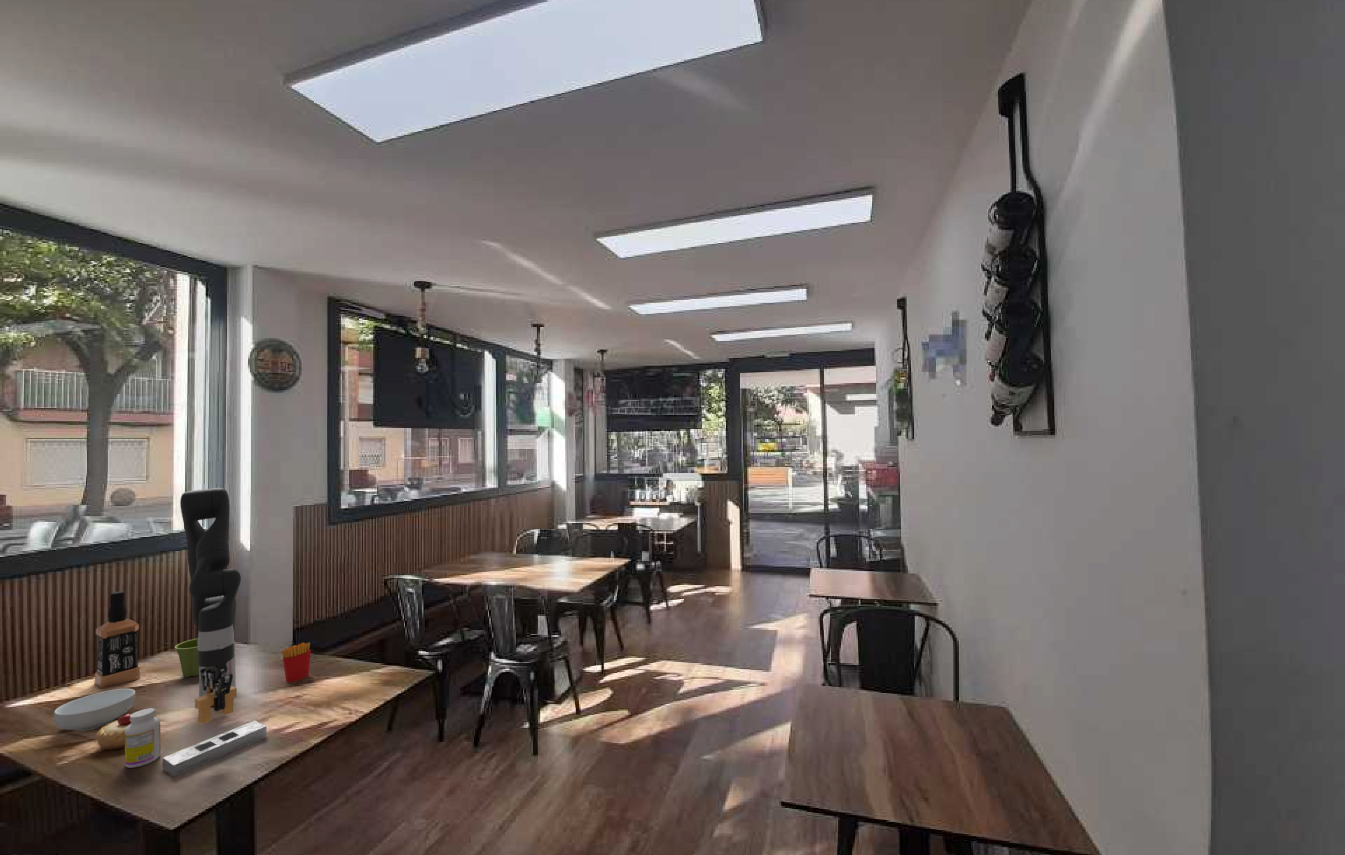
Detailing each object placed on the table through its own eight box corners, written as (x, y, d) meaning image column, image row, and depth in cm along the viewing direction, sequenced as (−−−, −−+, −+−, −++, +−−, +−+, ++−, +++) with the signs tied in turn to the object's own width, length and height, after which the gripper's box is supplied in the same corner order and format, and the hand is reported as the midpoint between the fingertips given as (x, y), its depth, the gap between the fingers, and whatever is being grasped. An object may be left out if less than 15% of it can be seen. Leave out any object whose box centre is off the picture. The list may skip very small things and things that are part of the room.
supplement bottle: (141, 755, 142) (141, 707, 142) (167, 753, 142) (167, 705, 143) (117, 770, 135) (117, 720, 135) (144, 768, 136) (144, 718, 136)
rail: (162, 769, 135) (162, 757, 135) (254, 730, 152) (254, 720, 152) (173, 777, 131) (173, 765, 131) (266, 736, 149) (266, 726, 149)
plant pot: (197, 680, 188) (197, 648, 188) (165, 680, 188) (165, 649, 188) (226, 665, 200) (226, 636, 200) (195, 666, 200) (195, 637, 200)
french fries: (307, 673, 191) (307, 639, 191) (312, 675, 189) (312, 641, 189) (280, 682, 184) (279, 647, 184) (285, 684, 182) (284, 650, 182)
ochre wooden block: (195, 722, 139) (194, 698, 139) (231, 709, 146) (231, 685, 146) (199, 725, 138) (199, 700, 138) (236, 711, 145) (236, 688, 145)
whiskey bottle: (140, 678, 191) (140, 590, 191) (101, 690, 182) (101, 597, 183) (132, 672, 196) (132, 587, 197) (93, 683, 188) (93, 593, 189)
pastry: (103, 759, 141) (102, 726, 141) (92, 746, 147) (90, 714, 147) (163, 735, 151) (162, 705, 151) (150, 724, 158) (149, 695, 158)
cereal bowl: (148, 714, 164) (148, 691, 164) (73, 743, 148) (73, 718, 149) (115, 706, 170) (115, 684, 170) (40, 734, 154) (40, 710, 154)
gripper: (187, 645, 143) (187, 709, 142) (210, 653, 136) (210, 721, 135) (221, 636, 149) (221, 697, 149) (244, 643, 142) (245, 707, 142)
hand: (216, 708), depth 142 cm, fingers closed on ochre wooden block, 3 cm apart
